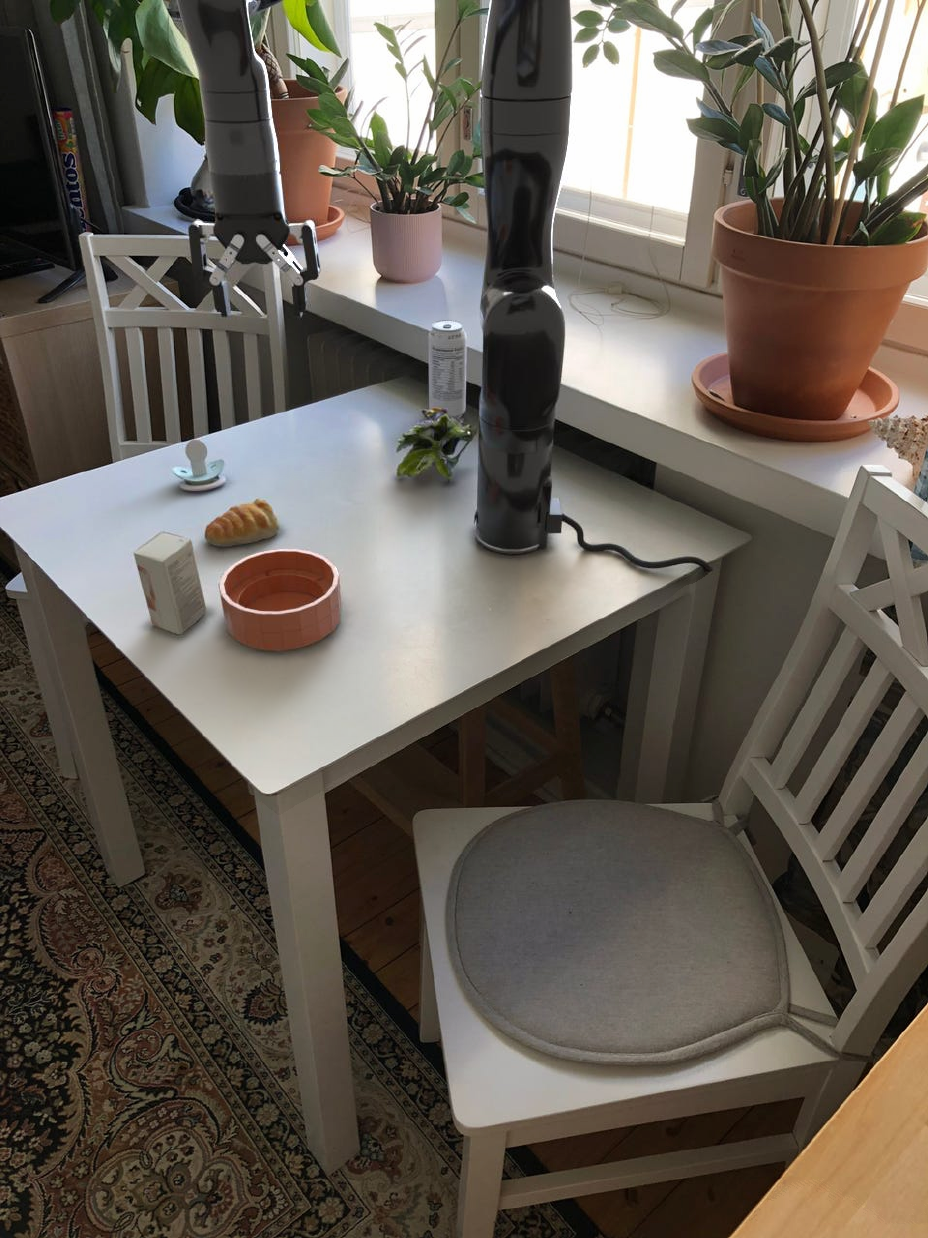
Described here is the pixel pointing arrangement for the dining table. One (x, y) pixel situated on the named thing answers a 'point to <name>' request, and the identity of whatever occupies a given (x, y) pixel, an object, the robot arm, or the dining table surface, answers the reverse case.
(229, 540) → the pastry
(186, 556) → the printed white carton
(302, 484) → the dining table surface
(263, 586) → the bowl
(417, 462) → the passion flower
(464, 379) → the energy drink can
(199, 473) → the pacifier
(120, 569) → the dining table surface
